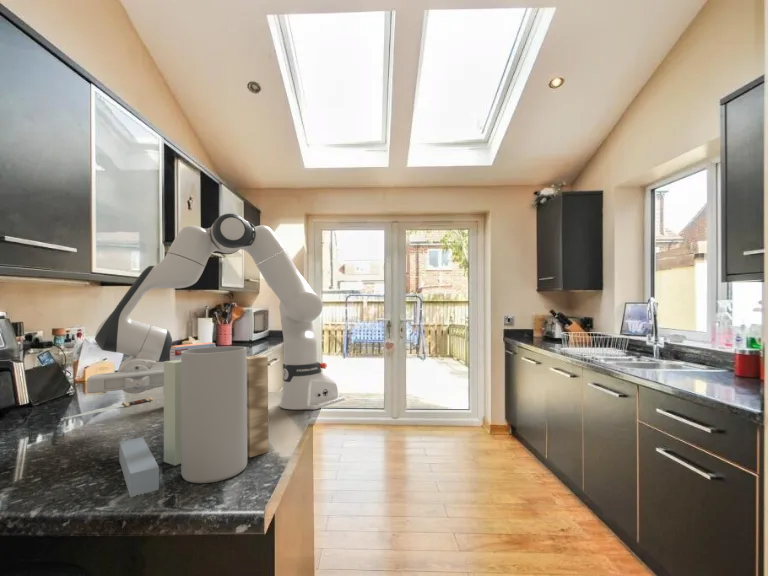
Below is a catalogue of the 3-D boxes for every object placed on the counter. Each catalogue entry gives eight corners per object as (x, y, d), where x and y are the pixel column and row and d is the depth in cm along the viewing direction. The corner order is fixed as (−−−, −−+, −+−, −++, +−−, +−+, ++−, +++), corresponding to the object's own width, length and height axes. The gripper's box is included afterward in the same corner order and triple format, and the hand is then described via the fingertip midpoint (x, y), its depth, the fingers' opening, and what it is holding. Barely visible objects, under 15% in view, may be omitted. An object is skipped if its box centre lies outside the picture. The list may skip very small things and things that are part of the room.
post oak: (260, 447, 93) (259, 355, 94) (268, 451, 90) (267, 356, 91) (241, 452, 90) (241, 357, 91) (249, 457, 87) (249, 358, 88)
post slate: (142, 437, 90) (158, 466, 73) (142, 456, 90) (158, 491, 73) (119, 441, 87) (130, 473, 70) (119, 462, 87) (130, 499, 70)
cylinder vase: (178, 490, 72) (178, 355, 73) (183, 465, 83) (183, 348, 84) (249, 477, 77) (248, 350, 78) (245, 455, 88) (244, 345, 89)
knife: (63, 419, 120) (58, 415, 123) (63, 424, 120) (58, 420, 123) (156, 399, 141) (149, 395, 144) (155, 403, 142) (149, 399, 144)
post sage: (183, 454, 90) (183, 358, 90) (194, 458, 87) (194, 360, 88) (163, 461, 86) (163, 361, 87) (175, 465, 83) (175, 362, 84)
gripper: (88, 368, 98) (82, 375, 86) (179, 360, 109) (184, 366, 98) (87, 393, 98) (82, 404, 86) (179, 382, 109) (184, 391, 97)
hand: (137, 384), depth 92 cm, fingers closed
